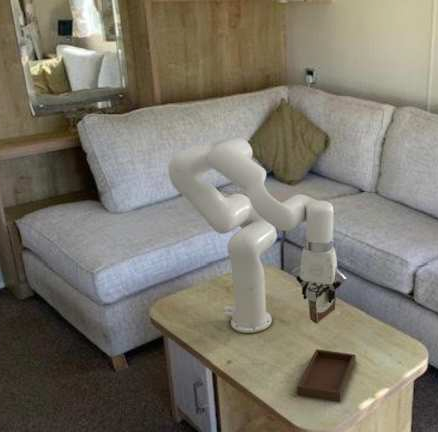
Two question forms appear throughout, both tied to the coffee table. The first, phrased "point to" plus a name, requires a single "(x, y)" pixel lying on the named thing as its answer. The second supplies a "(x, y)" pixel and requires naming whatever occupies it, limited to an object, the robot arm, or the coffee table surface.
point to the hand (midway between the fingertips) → (318, 298)
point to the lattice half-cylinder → (319, 301)
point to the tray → (326, 375)
